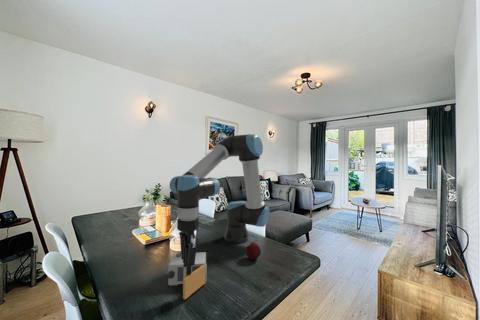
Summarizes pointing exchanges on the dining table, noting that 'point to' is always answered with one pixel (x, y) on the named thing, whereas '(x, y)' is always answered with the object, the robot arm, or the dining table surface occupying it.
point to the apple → (253, 251)
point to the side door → (194, 281)
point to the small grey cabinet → (177, 267)
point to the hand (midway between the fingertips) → (187, 281)
